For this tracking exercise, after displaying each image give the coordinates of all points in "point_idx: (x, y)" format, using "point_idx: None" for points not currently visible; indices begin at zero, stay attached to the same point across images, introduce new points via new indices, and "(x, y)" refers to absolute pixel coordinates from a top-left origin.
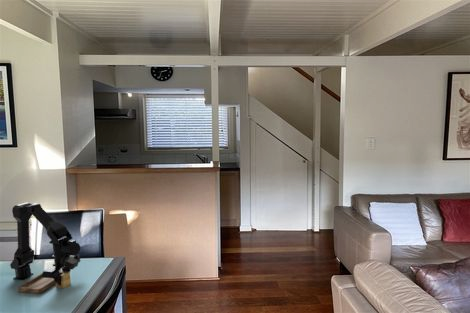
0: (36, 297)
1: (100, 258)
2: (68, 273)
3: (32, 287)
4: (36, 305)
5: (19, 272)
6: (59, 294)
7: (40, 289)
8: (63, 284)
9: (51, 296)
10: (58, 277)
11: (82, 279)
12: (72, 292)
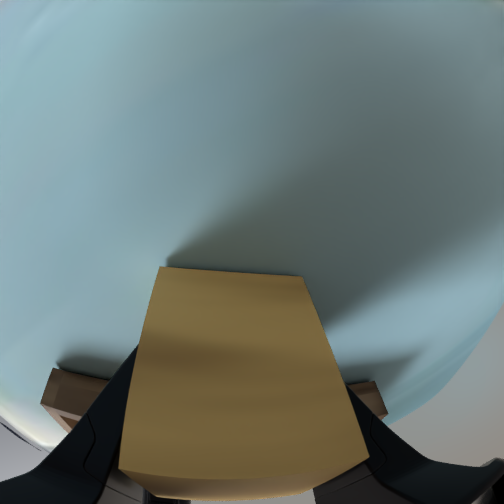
0: (401, 372)
1: None
2: (168, 453)
3: None
4: (490, 305)
5: (189, 500)
6: (432, 243)
7: (382, 411)
8: (315, 320)
9: (436, 293)
10: (418, 454)
11: (27, 164)
12: (426, 98)
